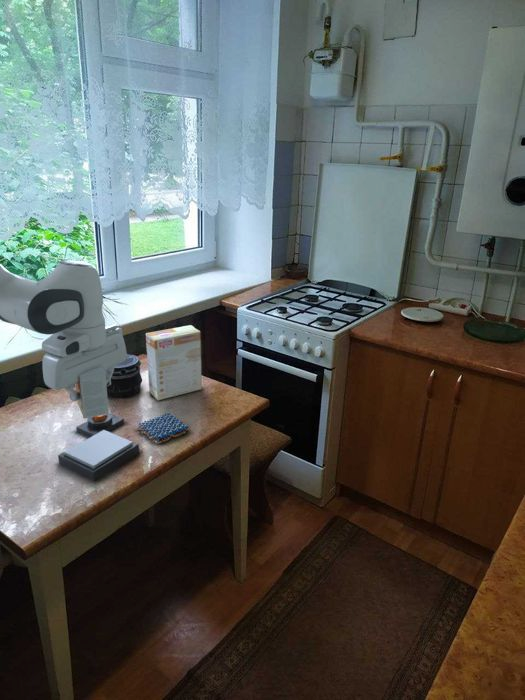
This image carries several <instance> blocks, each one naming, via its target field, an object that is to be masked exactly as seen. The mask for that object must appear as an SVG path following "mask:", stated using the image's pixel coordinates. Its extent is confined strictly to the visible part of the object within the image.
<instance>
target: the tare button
mask: <svg viewBox="0 0 525 700" xmlns="http://www.w3.org/2000/svg"><path fill="white" fill-rule="evenodd" d="M93 419H94V421H103V420H105V419H106V414H105V415H100V416H94V417H93Z"/></svg>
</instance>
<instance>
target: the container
mask: <svg viewBox="0 0 525 700" xmlns="http://www.w3.org/2000/svg"><path fill="white" fill-rule="evenodd" d="M141 365H142V362H141V361H140V359H139V357H138V356H136V355H133V354H129V353H127V358H126V360H125V362H123V363H121V364H119V365H116V366H114V372H113V374H112V377H111V385H109V386H107V397H108V398H116V399H117V398H119V399H120V398H128V397H131V396H133V395H135V394H137V393H139V392H140V390H141V385H142V383H143V377H142V375H141Z"/></svg>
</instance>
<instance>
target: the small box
mask: <svg viewBox="0 0 525 700" xmlns="http://www.w3.org/2000/svg"><path fill="white" fill-rule="evenodd" d="M75 391H77V392H80V398H81V399H79V400H77V401H76V402H77V406H78V407H79V410H80V412H81V414H82V418H83V419H84V420H85V419H87V418H90V417H94V416H100V415H105V414H108V413H110V412H109V411H110V410H109V409H110V408H109V399H108V398H109V397H108V396H107V386H106V375H105V371H104V370H103V368H102V367H98V368H95V369H93V370H90V371H88V372H86V373H83V374H81V375H79V382H77V383H75Z"/></svg>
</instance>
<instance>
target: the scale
mask: <svg viewBox="0 0 525 700" xmlns="http://www.w3.org/2000/svg"><path fill="white" fill-rule="evenodd" d="M139 453H140V444H139V443H137V442H135V441H132V440H130V439H127V438H125V437H123V436H121V435H118V434H115V433H114V432H111V431H106V430H103V431H101V432H99V433H97V434H95V435H94V436H92V437H88V438H86V439H85V440H83V441H81V442H79V443H78V444H76V445H74V446H72V447H70V448H68V449H66V450H64V451H63V452H61V453H60V454H58V455H57V460H58V465H60V466H62V467H64V468H66V469H68V470H70V471H72V472H74V473H76V474H78V475H79V476H81V477H84V478H86V479H87V480H91V481H92V482H94V483H95V482H96V481H98V480H99V479H101V478H102V477H104V476H105V475H107V474H108V473H110V472H112V471H113V470H116V469H117V468H118V467H120V466H121V465H122V464H124V463H126V462H128V460H130V459H132V458H133V457H135V456H136V455H138V454H139Z"/></svg>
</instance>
